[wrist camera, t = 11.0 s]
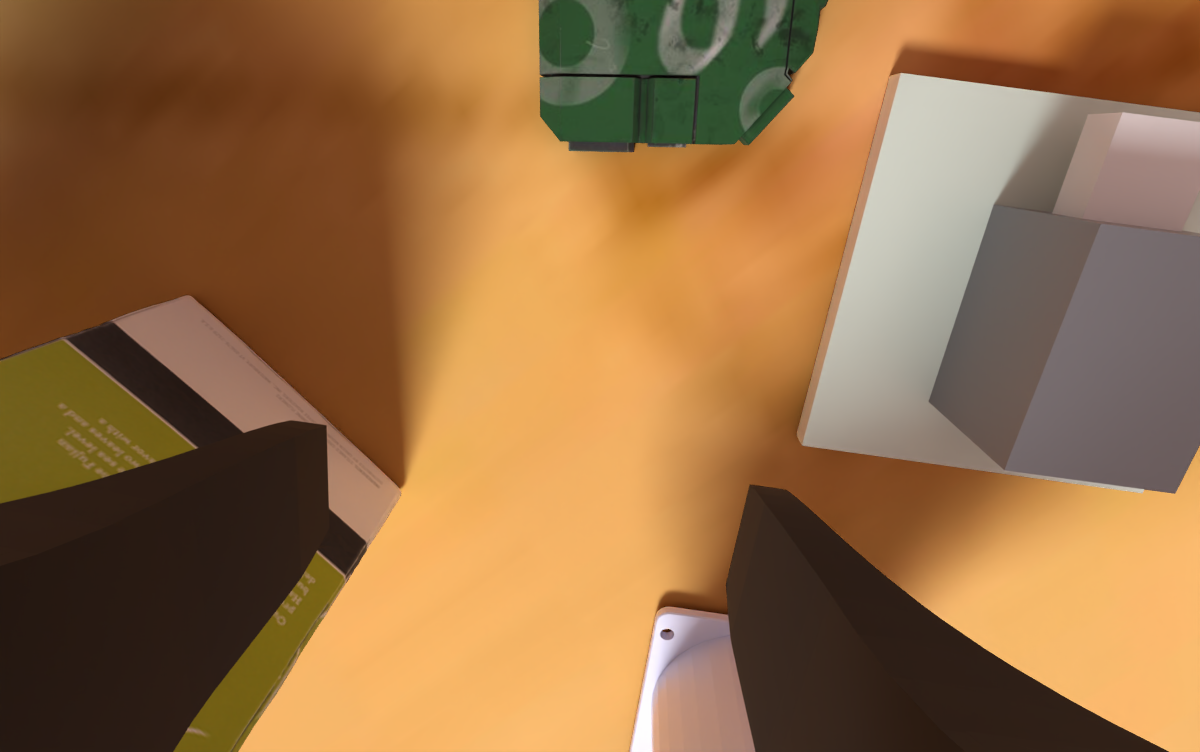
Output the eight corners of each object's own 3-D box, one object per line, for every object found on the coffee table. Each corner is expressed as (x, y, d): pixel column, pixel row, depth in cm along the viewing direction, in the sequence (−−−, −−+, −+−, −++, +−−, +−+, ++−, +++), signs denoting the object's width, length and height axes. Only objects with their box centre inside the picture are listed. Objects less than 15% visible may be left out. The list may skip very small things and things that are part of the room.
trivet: (1124, 480, 21) (1142, 493, 20) (796, 434, 21) (801, 445, 21) (1292, 129, 17) (1321, 128, 17) (889, 75, 17) (900, 72, 17)
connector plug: (1063, 419, 20) (1175, 493, 16) (928, 402, 20) (1004, 470, 16) (1183, 132, 17) (1359, 129, 13) (1024, 111, 17) (1148, 102, 13)
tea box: (181, 685, 27) (-300, 1255, 13) (-27, 528, 25) (-868, 1017, 11) (418, 487, 23) (82, 1011, 9) (195, 279, 21) (-698, 555, 7)
